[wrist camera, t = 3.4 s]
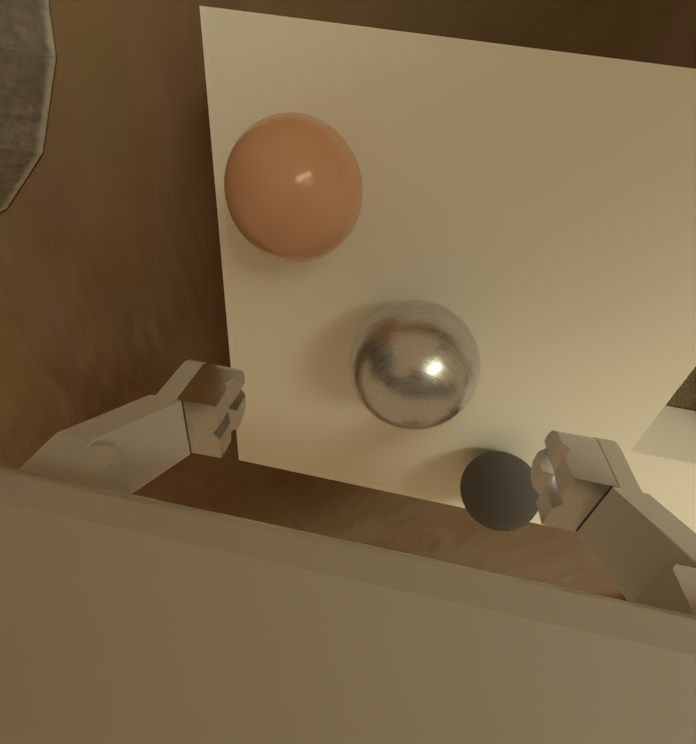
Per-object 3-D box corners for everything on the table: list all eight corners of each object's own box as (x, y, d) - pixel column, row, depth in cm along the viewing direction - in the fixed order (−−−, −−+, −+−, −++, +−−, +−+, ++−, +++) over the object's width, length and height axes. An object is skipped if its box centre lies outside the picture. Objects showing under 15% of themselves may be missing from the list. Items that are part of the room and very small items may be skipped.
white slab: (1154, 133, 11) (1390, 157, 8) (730, 507, 21) (773, 573, 19) (250, 16, 13) (199, 5, 10) (262, 412, 23) (238, 460, 21)
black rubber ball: (545, 444, 17) (563, 508, 14) (518, 490, 18) (530, 553, 16) (469, 429, 17) (474, 489, 14) (450, 476, 19) (452, 537, 16)
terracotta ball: (379, 115, 11) (359, 134, 8) (362, 245, 13) (342, 294, 10) (251, 97, 11) (189, 109, 8) (255, 227, 13) (207, 271, 11)
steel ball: (491, 290, 13) (507, 362, 10) (458, 386, 16) (462, 469, 12) (367, 268, 14) (345, 332, 10) (353, 367, 16) (332, 442, 13)
